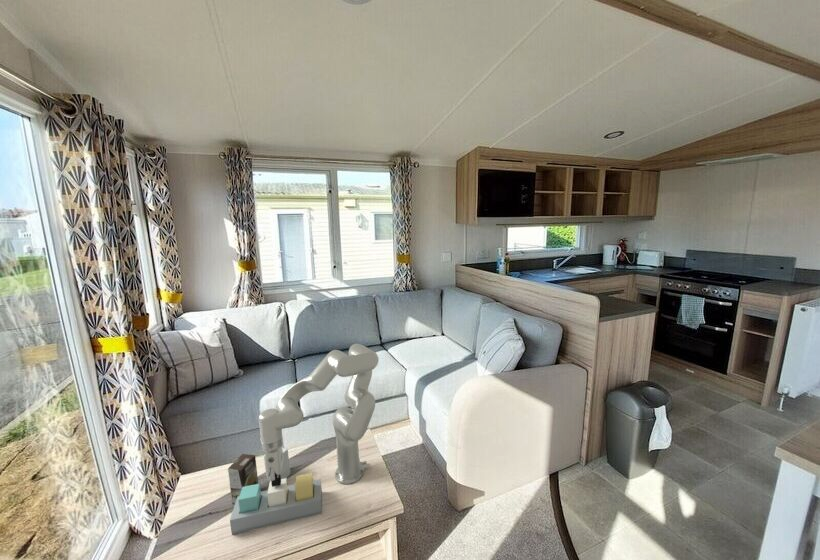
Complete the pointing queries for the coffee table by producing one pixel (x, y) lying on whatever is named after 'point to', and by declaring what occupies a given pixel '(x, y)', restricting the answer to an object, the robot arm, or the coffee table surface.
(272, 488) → the ivory key
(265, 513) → the key console
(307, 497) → the mustard key
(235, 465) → the coffee box
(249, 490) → the teal key
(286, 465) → the supplement box
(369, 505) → the coffee table surface
